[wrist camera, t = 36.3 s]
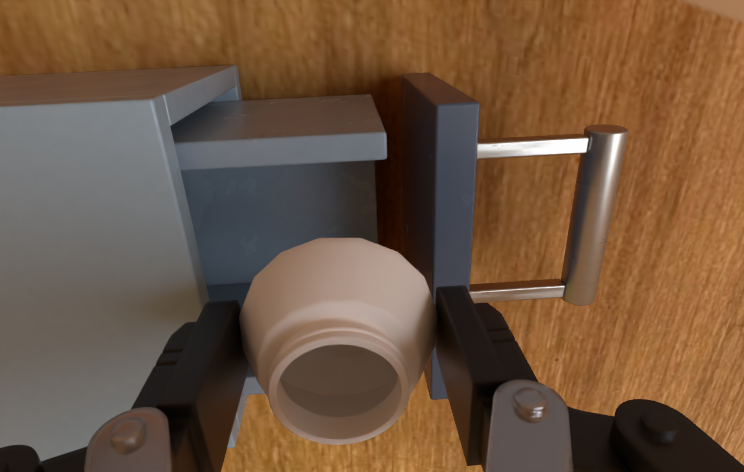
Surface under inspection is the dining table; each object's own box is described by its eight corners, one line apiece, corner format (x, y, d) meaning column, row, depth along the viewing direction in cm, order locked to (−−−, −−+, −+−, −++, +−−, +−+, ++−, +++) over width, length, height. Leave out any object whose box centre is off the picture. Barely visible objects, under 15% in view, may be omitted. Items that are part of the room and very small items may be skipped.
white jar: (222, 356, 13) (384, 403, 14) (191, 444, 10) (394, 494, 11) (283, 201, 11) (464, 270, 12) (264, 259, 8) (499, 341, 9)
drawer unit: (237, 64, 19) (152, 98, 11) (273, 296, 24) (235, 448, 16) (-95, 79, 19) (-465, 130, 10) (11, 313, 24) (-179, 480, 15)
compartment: (575, 65, 19) (709, 90, 12) (545, 277, 24) (631, 386, 17) (126, 87, 19) (-6, 126, 12) (181, 301, 23) (110, 424, 16)
